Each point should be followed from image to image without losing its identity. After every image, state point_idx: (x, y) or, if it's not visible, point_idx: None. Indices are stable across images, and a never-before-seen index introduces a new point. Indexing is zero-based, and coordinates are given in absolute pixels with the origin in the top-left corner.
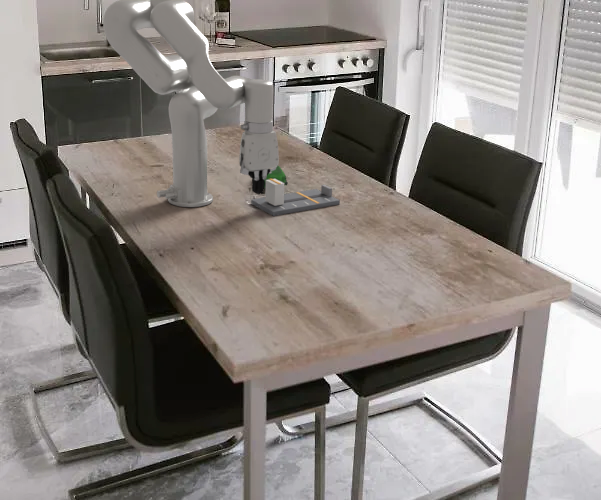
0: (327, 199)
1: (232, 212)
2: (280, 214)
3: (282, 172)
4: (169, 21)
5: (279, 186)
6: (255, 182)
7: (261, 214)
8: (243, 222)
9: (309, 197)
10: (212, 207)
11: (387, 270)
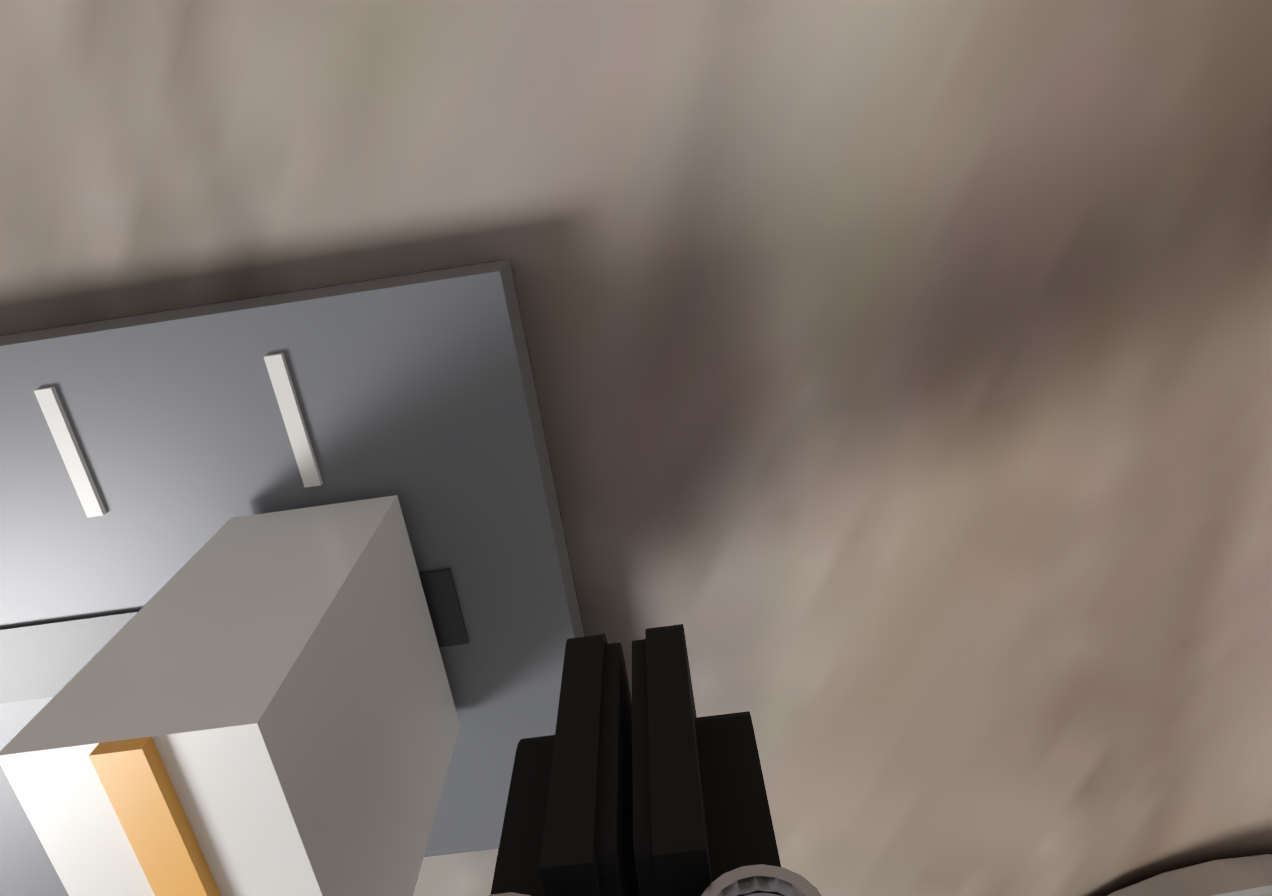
0: None
1: (988, 582)
2: (380, 279)
3: None
4: None
5: (161, 701)
6: (762, 849)
7: (651, 387)
8: (1069, 133)
9: None
10: (1114, 803)
11: None
